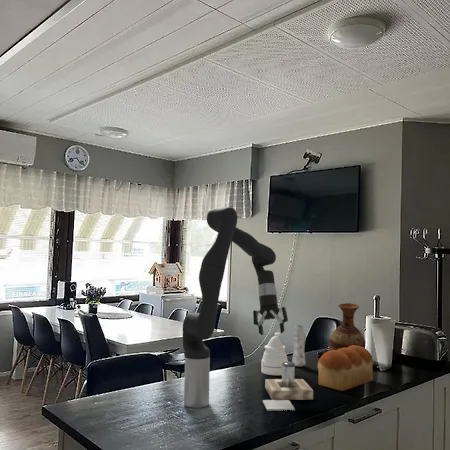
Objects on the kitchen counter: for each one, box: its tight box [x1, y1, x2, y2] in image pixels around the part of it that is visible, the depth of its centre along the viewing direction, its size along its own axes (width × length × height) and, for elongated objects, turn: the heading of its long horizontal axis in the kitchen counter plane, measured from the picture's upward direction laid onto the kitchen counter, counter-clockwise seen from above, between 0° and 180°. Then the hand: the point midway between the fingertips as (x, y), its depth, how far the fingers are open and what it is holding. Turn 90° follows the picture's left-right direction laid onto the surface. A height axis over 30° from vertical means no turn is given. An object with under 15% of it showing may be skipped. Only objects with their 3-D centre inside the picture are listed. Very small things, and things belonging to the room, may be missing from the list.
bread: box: [317, 345, 374, 392], centre depth 202 cm, size 25×12×15 cm, turn 133°
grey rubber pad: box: [262, 399, 296, 412], centre depth 169 cm, size 10×10×1 cm
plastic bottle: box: [291, 324, 307, 368], centre depth 230 cm, size 6×7×20 cm
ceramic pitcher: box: [328, 302, 366, 351], centre depth 248 cm, size 20×20×30 cm
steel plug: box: [281, 361, 296, 388], centre depth 185 cm, size 7×7×12 cm
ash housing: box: [264, 378, 314, 401], centre depth 185 cm, size 16×16×4 cm
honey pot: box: [261, 332, 290, 376], centre depth 219 cm, size 13×13×18 cm
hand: (272, 334), depth 191 cm, fingers open, 8 cm apart
